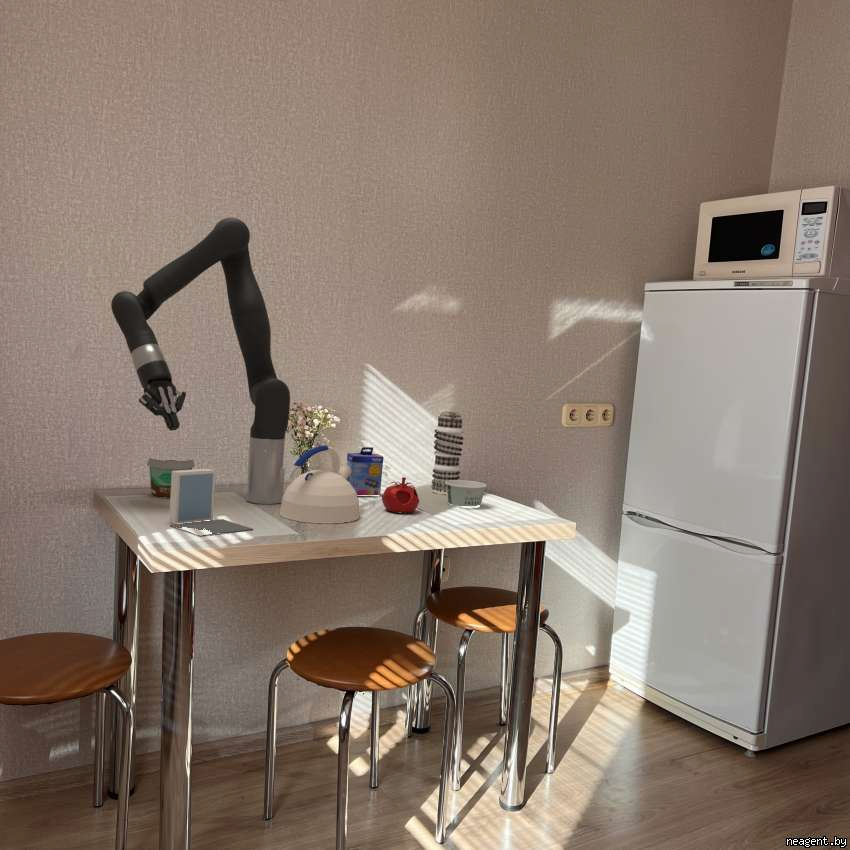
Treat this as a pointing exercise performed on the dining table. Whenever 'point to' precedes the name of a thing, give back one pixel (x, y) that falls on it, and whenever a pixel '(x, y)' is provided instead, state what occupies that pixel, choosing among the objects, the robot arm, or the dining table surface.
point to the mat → (215, 526)
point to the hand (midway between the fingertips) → (174, 429)
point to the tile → (192, 495)
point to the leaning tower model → (447, 450)
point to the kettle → (321, 493)
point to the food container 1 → (165, 474)
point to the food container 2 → (465, 492)
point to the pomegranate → (400, 497)
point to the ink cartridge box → (365, 471)
